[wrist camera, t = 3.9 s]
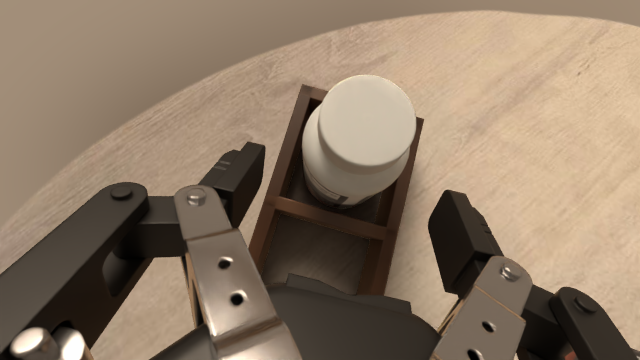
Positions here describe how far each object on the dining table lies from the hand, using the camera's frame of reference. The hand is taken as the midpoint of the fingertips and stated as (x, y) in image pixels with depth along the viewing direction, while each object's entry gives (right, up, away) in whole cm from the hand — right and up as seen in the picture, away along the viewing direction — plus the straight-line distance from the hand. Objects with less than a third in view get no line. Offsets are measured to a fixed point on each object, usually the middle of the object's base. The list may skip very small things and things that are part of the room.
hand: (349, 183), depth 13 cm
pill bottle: (0, +1, +8) cm, 8 cm away
